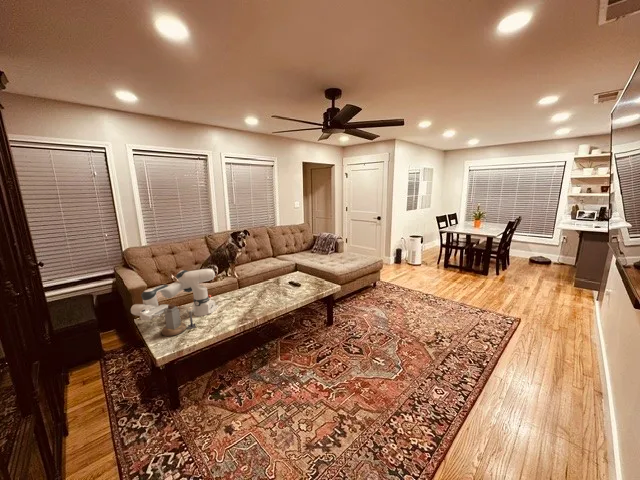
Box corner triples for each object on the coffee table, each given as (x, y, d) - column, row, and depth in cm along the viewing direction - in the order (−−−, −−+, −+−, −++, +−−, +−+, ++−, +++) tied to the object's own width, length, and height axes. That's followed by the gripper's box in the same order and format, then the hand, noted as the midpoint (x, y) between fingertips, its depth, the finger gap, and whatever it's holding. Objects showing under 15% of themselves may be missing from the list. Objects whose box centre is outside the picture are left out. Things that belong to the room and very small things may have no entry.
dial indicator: (188, 326, 205) (186, 306, 202) (195, 324, 208) (193, 304, 205) (188, 329, 201) (186, 308, 198) (195, 327, 203) (193, 307, 200)
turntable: (173, 324, 208) (172, 321, 207) (190, 326, 204) (190, 322, 204) (157, 334, 192) (156, 331, 192) (175, 336, 189) (175, 333, 188)
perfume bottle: (181, 325, 200) (178, 303, 197) (174, 329, 194) (171, 307, 190) (173, 324, 202) (171, 302, 198) (166, 328, 195) (163, 306, 192)
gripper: (161, 309, 211) (176, 310, 207) (139, 321, 191) (154, 323, 188) (160, 301, 209) (175, 303, 206) (137, 313, 190) (153, 315, 187)
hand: (165, 313), depth 197 cm, fingers open, 8 cm apart
